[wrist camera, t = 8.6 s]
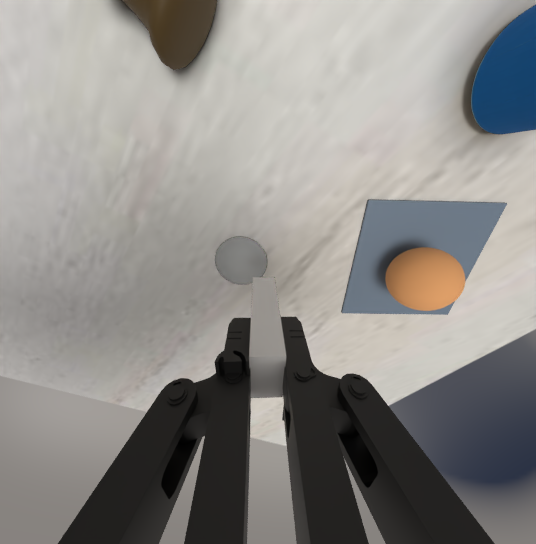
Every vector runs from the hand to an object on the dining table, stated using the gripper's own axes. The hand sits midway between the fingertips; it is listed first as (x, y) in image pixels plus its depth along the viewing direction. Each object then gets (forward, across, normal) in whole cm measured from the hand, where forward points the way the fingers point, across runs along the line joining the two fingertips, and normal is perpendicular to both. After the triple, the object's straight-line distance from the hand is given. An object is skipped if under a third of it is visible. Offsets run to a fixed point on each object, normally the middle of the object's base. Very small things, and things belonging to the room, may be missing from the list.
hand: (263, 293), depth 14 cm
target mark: (+6, +15, 0) cm, 16 cm away
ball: (+3, +14, 0) cm, 14 cm away
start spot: (+6, -2, 0) cm, 6 cm away
